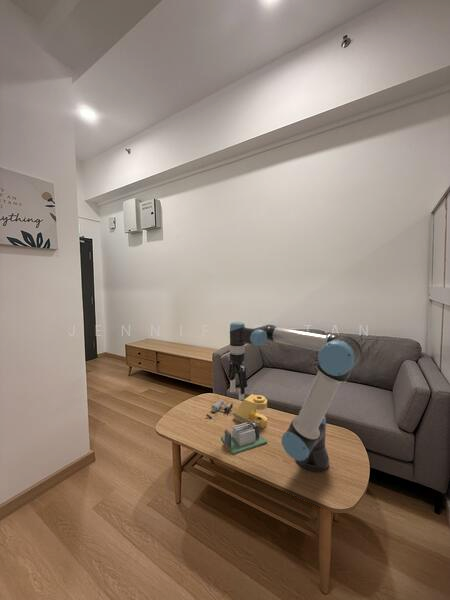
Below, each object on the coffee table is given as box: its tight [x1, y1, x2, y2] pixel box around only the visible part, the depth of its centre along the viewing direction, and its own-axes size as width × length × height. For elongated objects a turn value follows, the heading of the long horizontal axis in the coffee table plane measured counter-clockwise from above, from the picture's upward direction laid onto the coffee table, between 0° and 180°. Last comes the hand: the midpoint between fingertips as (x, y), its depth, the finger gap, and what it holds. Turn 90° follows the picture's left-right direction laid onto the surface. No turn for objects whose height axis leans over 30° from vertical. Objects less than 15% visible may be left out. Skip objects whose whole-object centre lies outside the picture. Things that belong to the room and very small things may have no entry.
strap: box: [232, 412, 256, 427], centre depth 130 cm, size 15×4×1 cm
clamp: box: [232, 393, 268, 429], centre depth 149 cm, size 20×9×16 cm, turn 54°
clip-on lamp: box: [205, 398, 234, 420], centre depth 158 cm, size 12×6×18 cm
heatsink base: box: [220, 421, 268, 455], centre depth 130 cm, size 20×14×8 cm
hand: (237, 395), depth 127 cm, fingers open, 9 cm apart
